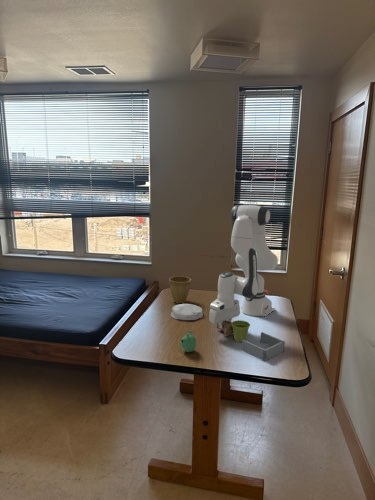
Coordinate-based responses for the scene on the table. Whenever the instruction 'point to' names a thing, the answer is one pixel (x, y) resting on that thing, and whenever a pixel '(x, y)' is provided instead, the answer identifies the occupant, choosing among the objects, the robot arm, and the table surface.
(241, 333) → the plant pot
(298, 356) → the table surface
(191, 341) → the alien toy
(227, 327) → the wooden angled block
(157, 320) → the table surface
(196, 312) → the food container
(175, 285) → the plant pot
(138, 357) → the table surface
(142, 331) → the table surface
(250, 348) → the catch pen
